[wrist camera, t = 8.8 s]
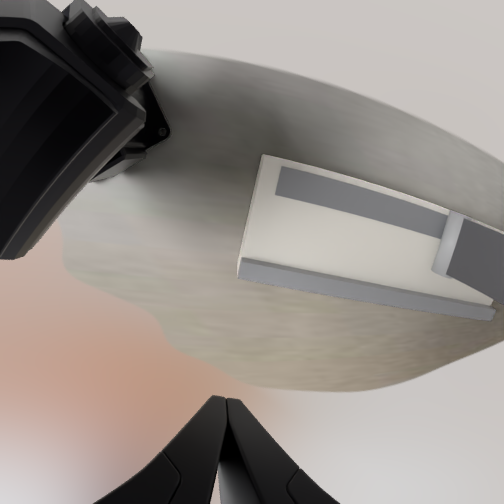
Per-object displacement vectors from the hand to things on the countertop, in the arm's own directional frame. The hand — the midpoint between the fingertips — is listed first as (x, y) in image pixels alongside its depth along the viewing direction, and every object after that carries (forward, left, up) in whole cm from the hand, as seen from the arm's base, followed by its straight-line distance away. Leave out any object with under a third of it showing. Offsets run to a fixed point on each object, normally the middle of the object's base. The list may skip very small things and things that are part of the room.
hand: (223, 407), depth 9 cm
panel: (+3, +10, -13) cm, 17 cm away
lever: (+4, +13, -10) cm, 17 cm away
